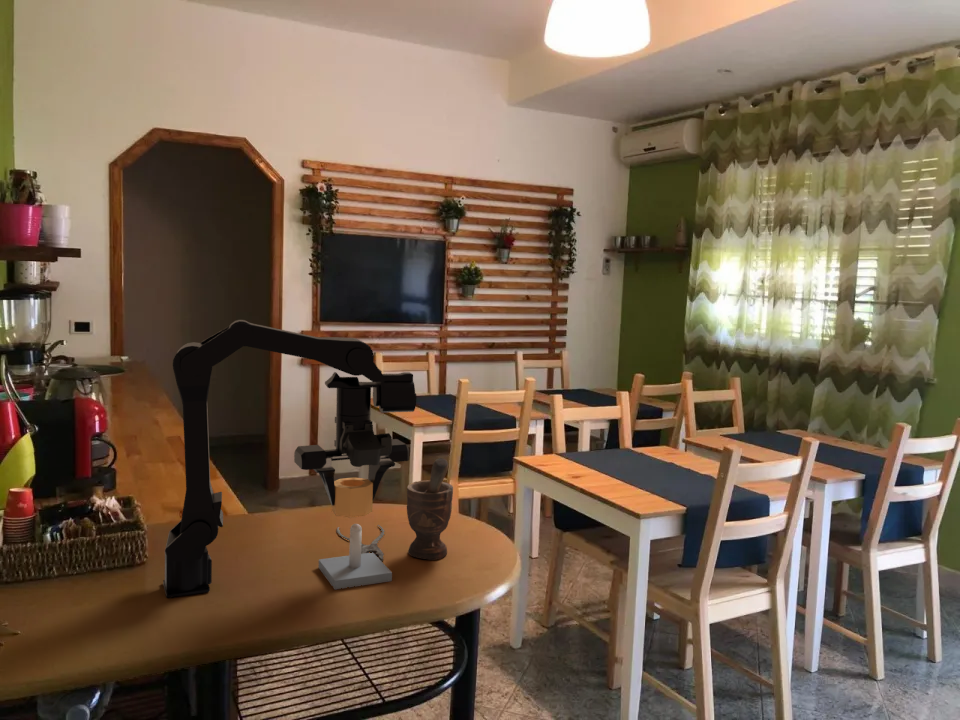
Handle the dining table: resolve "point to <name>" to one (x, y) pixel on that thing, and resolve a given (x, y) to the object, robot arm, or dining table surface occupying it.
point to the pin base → (353, 574)
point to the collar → (353, 497)
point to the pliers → (371, 547)
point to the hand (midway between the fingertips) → (352, 502)
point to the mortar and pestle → (429, 512)
